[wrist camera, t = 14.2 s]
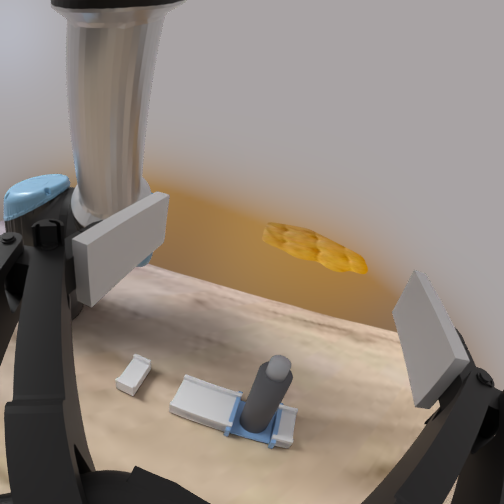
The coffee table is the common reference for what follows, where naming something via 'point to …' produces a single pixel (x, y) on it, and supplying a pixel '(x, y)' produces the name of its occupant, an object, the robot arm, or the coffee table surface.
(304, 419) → the coffee table surface
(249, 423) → the cable plug
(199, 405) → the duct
